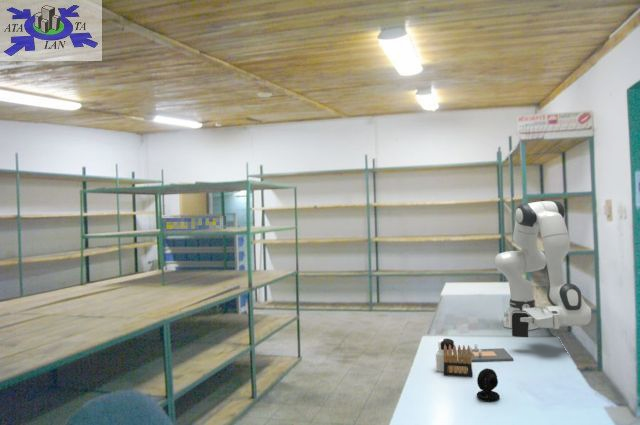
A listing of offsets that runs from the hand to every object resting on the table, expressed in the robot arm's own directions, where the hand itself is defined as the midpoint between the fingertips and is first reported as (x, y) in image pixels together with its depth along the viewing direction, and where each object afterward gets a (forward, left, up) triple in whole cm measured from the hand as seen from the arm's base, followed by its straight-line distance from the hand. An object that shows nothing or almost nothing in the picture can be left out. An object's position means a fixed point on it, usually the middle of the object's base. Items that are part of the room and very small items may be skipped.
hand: (517, 317), depth 219 cm
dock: (+5, -16, -15) cm, 22 cm away
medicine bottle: (+20, -34, -15) cm, 42 cm away
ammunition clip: (+27, -31, -15) cm, 44 cm away
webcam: (+49, -25, -15) cm, 57 cm away
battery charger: (-2, +1, -8) cm, 9 cm away
